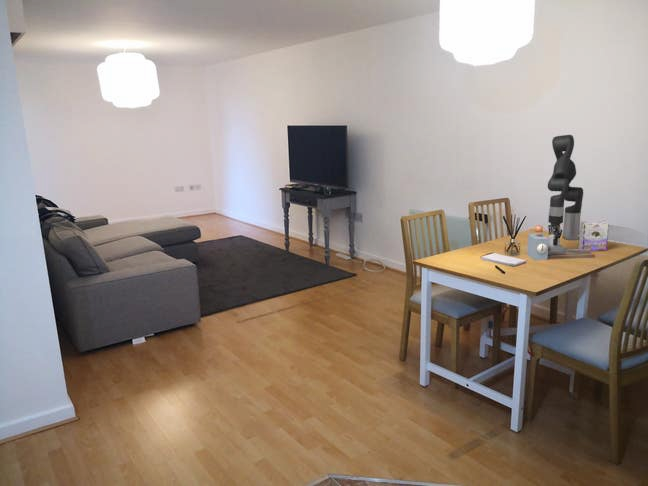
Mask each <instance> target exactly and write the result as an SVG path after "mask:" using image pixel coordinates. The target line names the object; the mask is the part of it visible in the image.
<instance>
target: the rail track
mask: <svg viewBox="0 0 648 486" xmlns="http://www.w3.org/2000/svg"><path fill="white" fill-rule="evenodd" d="M589 258H590V259H593V258H596V254H594V253H592V251H591V250H590V249H579V248H575V249H573V248H572V249H564V252H549V251H548V259H547V260H556V259H557V260H558V259H562V260H563V259H564V260H565V259H589Z"/></svg>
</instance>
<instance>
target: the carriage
mask: <svg viewBox="0 0 648 486" xmlns="http://www.w3.org/2000/svg"><path fill="white" fill-rule="evenodd" d="M548 238H549V245H548V251H549V252H564V250H565V246H562V245H561V244H560V242H561V237H560V238H559V239H558V244H557V245H553V239H554V238H553V235H549V234H548Z"/></svg>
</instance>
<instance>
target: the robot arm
mask: <svg viewBox="0 0 648 486" xmlns="http://www.w3.org/2000/svg"><path fill="white" fill-rule="evenodd" d="M551 146H552V150H553V152H554V153H553V154H554V156H555V159H556V161H555V163H554V166H553V171H552V175H551V177H550V179H549V180H548V182H547V189H548V190H549V191H550V192H560V193H559V194H556V195H552V196H550V200H549V208H548V223H549V224H548V225H547V227H548V236H549V235H553V238H554V239H553V245H557V244H558V239H559V238H560V239H561V236H562V239H563V240H567V241H570V240H571V241H576V240H579V237H580V225H581V215H582V214H581V213H582V208H583V207H582V206H583V199H584V198H583V197H584V189H583V187H580V186H570V184H571V182H572V181H573V180H574V179H575V177H576V176H577V169H576V163H575V162H574V161H573V160H572V159H571V157H572V155H573V151H574V148H575V138H574V136H573V135H572V134H565V135H558V136H553V138H552V141H551ZM565 201H567V202H573V203H574V204H573V205H570V206H569V205H568V206H565ZM561 224H563V229H561Z"/></svg>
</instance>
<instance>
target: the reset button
mask: <svg viewBox="0 0 648 486" xmlns="http://www.w3.org/2000/svg"><path fill="white" fill-rule="evenodd" d="M543 228H544V226H543V225H534V232H535V233H542V232H543Z"/></svg>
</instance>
